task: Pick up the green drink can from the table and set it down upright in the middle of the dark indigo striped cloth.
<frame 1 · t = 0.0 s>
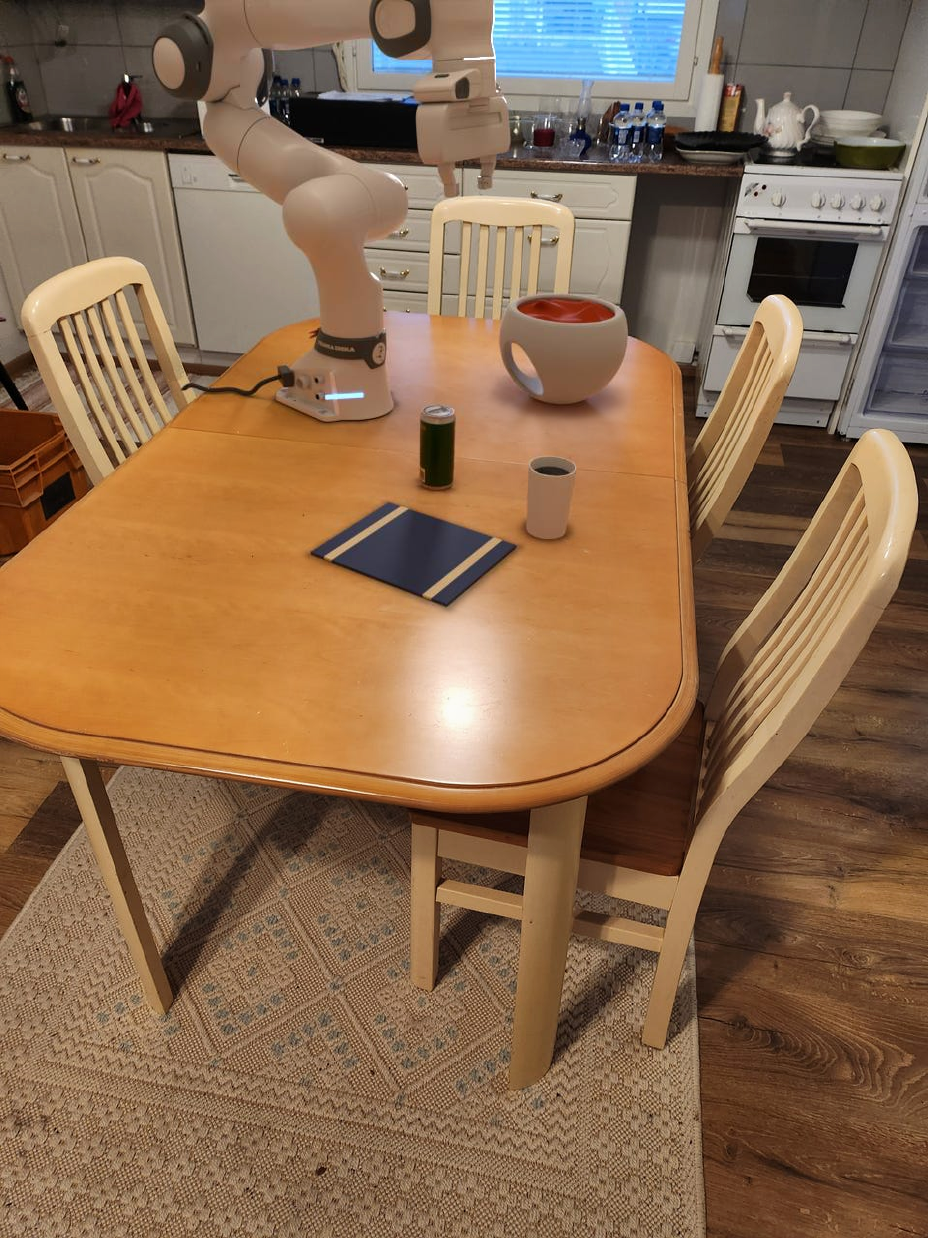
hand: (469, 192, 130), 39 cm above the table, tool pointing down, fingers open, 8 cm apart
cloth: (415, 550, 119), on the table
white coffee cup: (545, 530, 126), on the table
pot: (557, 397, 170), on the table
green drink can: (436, 484, 136), on the table
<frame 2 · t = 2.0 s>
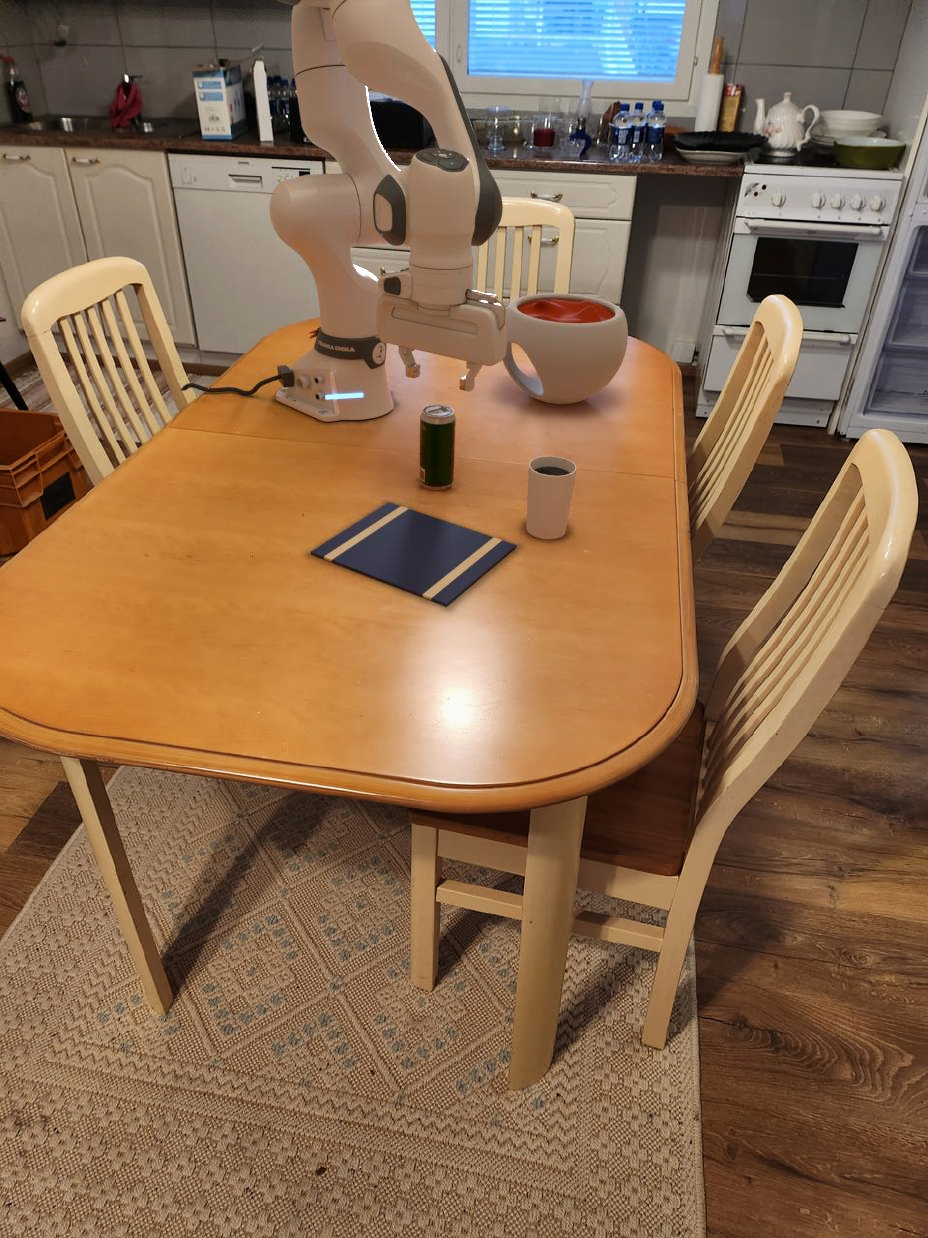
hand: (439, 383, 127), 16 cm above the table, tool pointing down, fingers open, 8 cm apart
nothing on the table moved.
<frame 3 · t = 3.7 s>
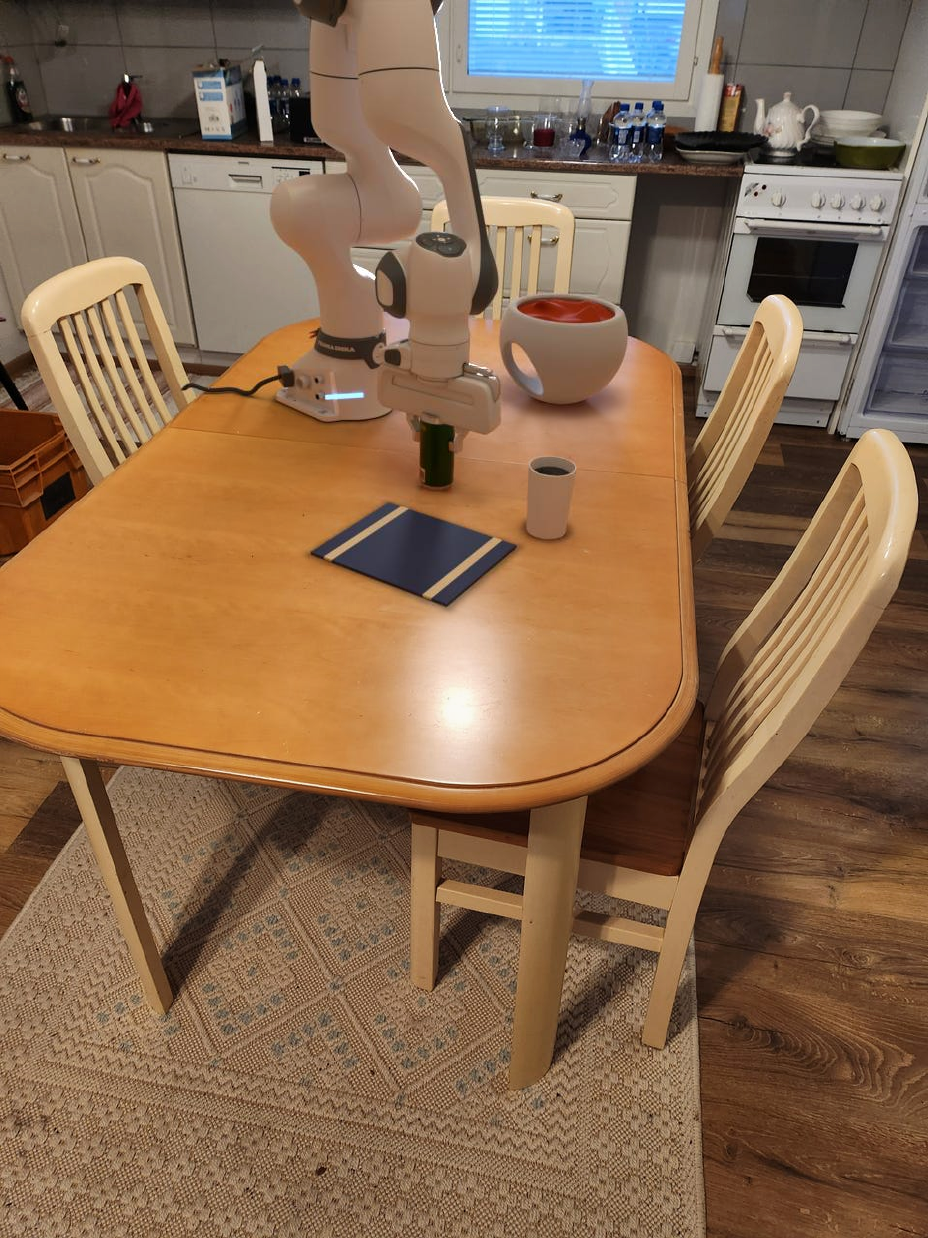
hand: (437, 446, 133), 6 cm above the table, tool pointing down, fingers closed on green drink can, 5 cm apart
green drink can: (436, 484, 136), on the table, touching gripper
everything else where it was.
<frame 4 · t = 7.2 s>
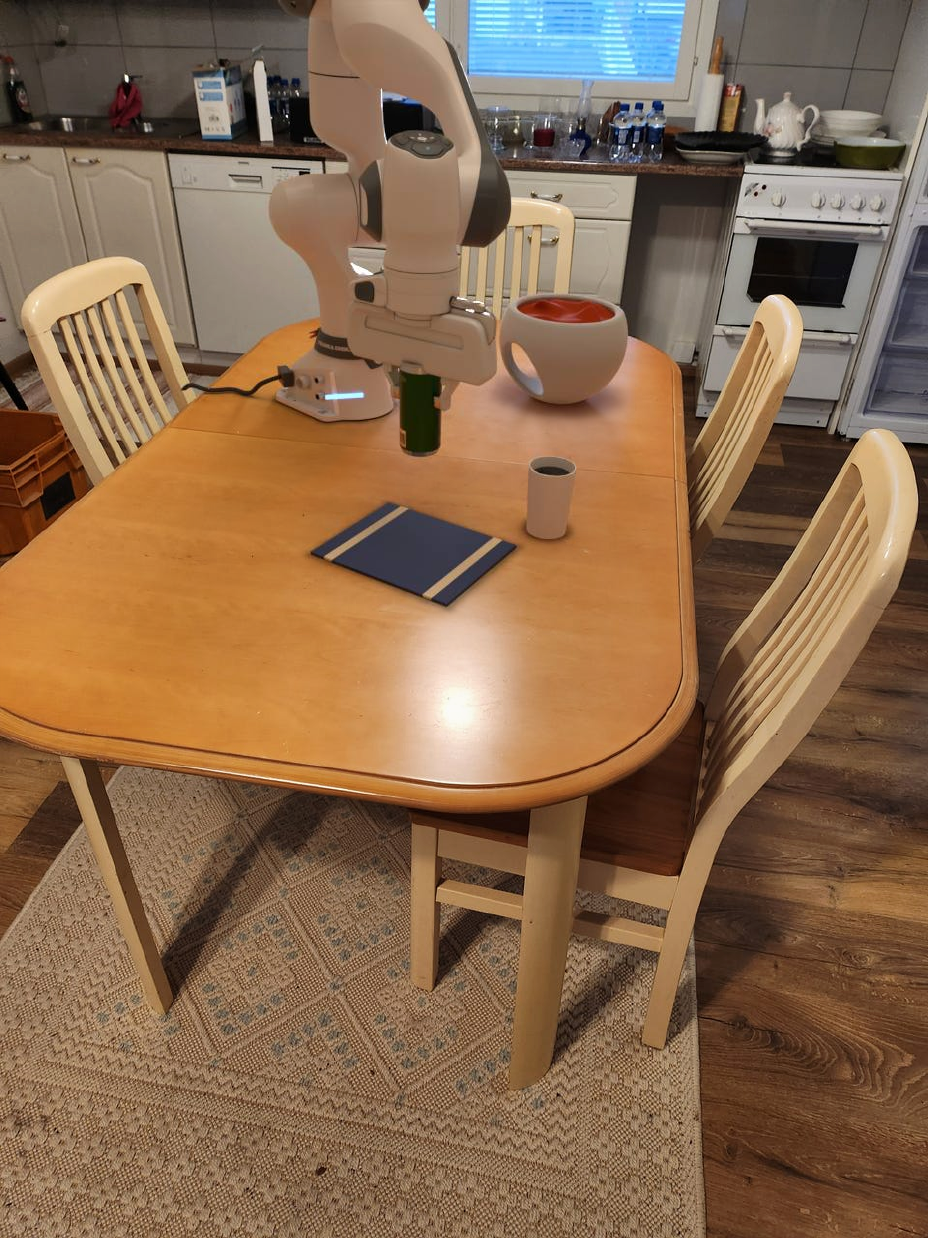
hand: (420, 403, 110), 20 cm above the table, tool pointing down, fingers closed on green drink can, 5 cm apart
green drink can: (420, 450, 114), point 13 cm above the table, touching gripper
everything else where it was.
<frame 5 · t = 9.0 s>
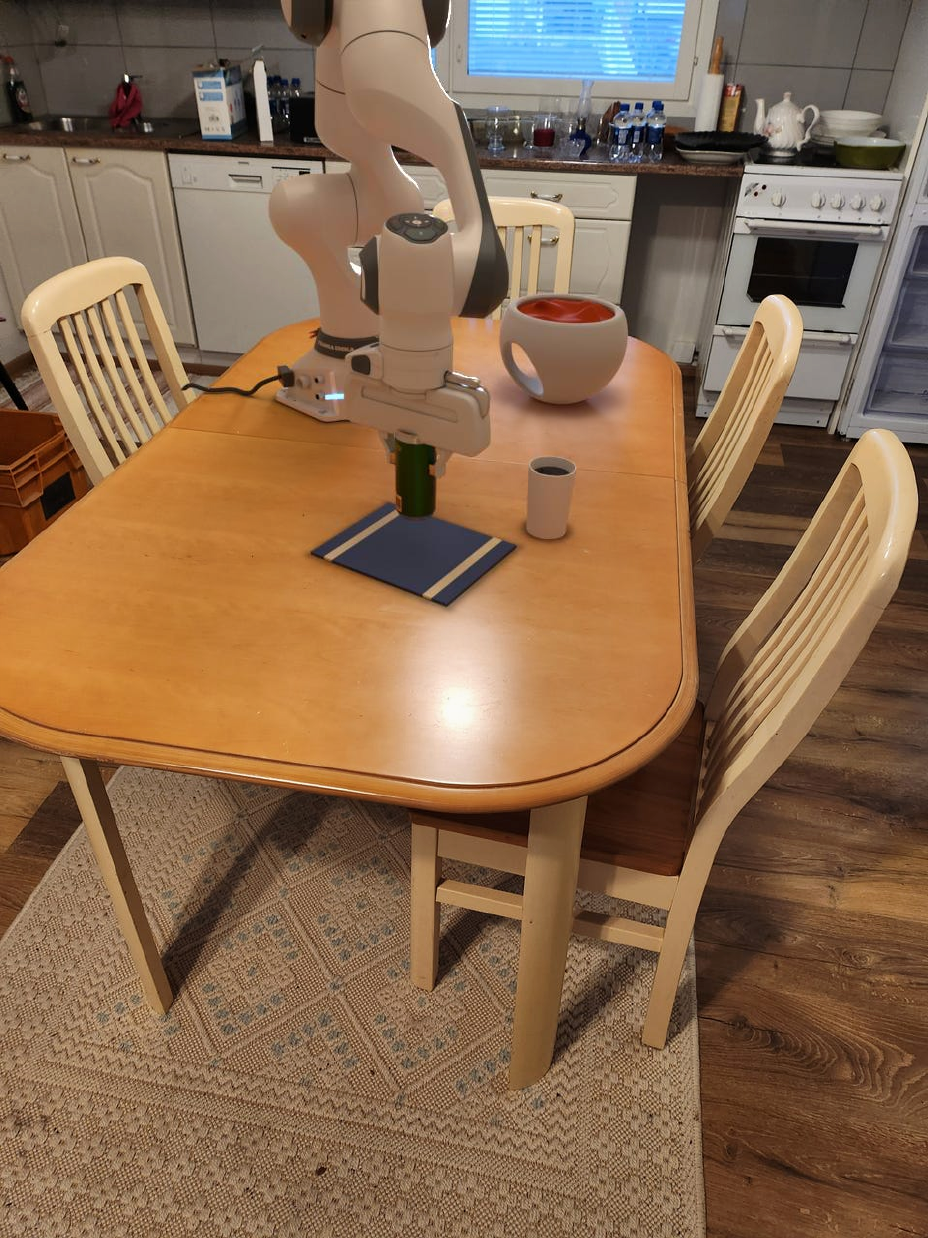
hand: (415, 469, 112), 12 cm above the table, tool pointing down, fingers closed on green drink can, 5 cm apart
green drink can: (415, 513, 116), point 6 cm above the table, touching gripper
everything else where it was.
when the fingers open (7 cm above the table, at t = 10.8 s): green drink can stays where it is, resting on cloth.
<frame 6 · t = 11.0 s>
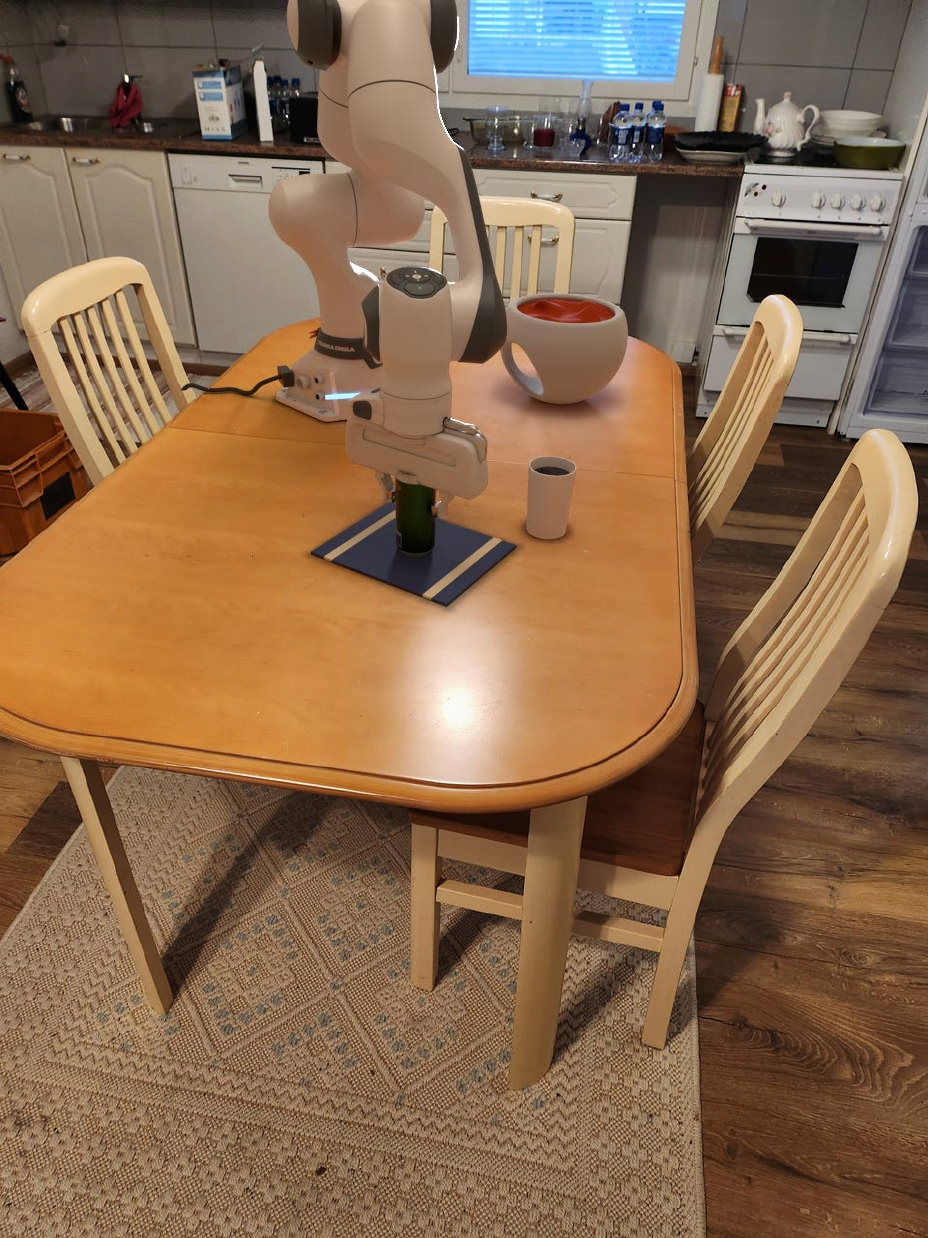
hand: (415, 508, 115), 7 cm above the table, tool pointing down, fingers open, 6 cm apart
green drink can: (415, 549, 119), resting on cloth
everything else where it was.
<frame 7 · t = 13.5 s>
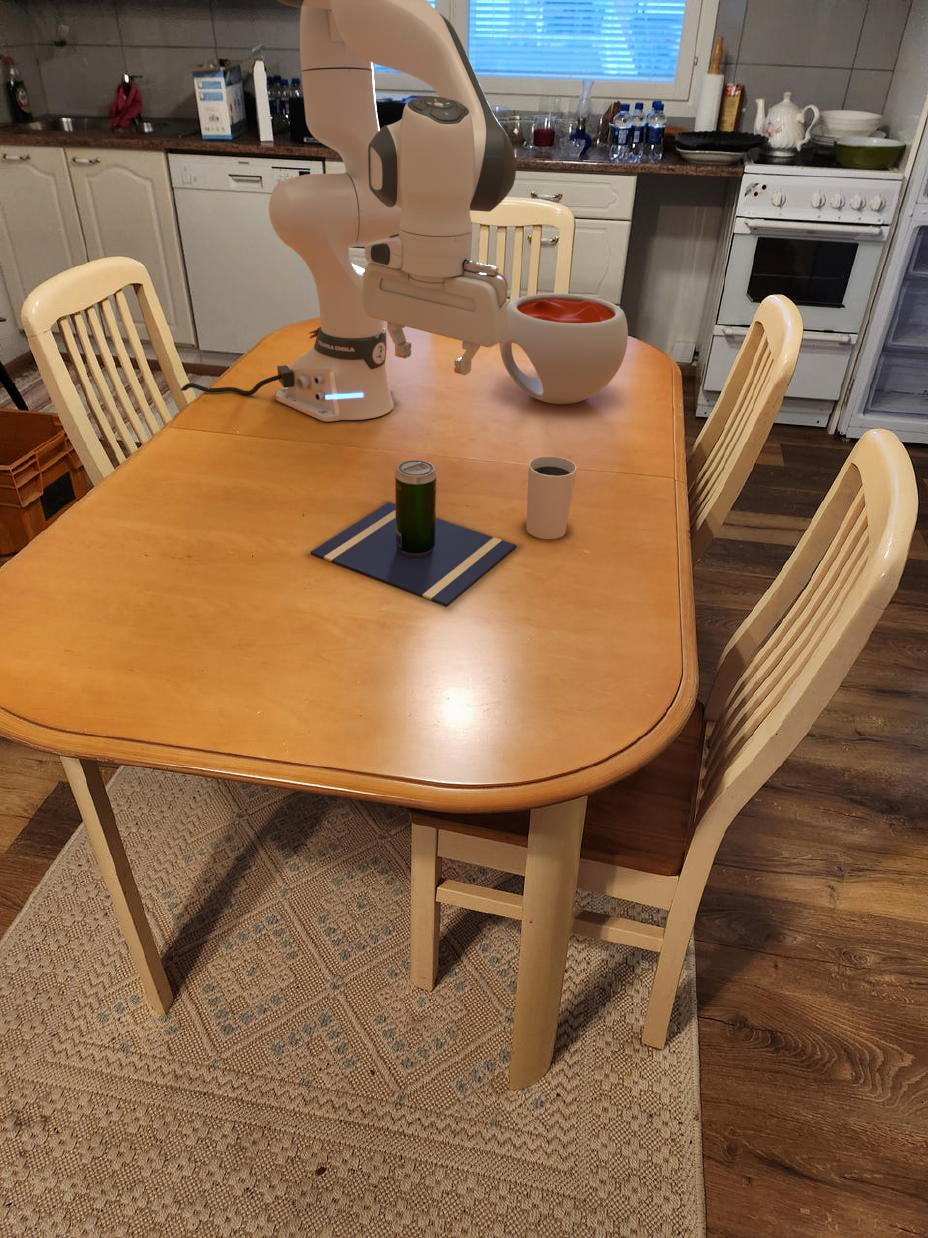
hand: (432, 364, 114), 23 cm above the table, tool pointing down, fingers open, 8 cm apart
nothing on the table moved.
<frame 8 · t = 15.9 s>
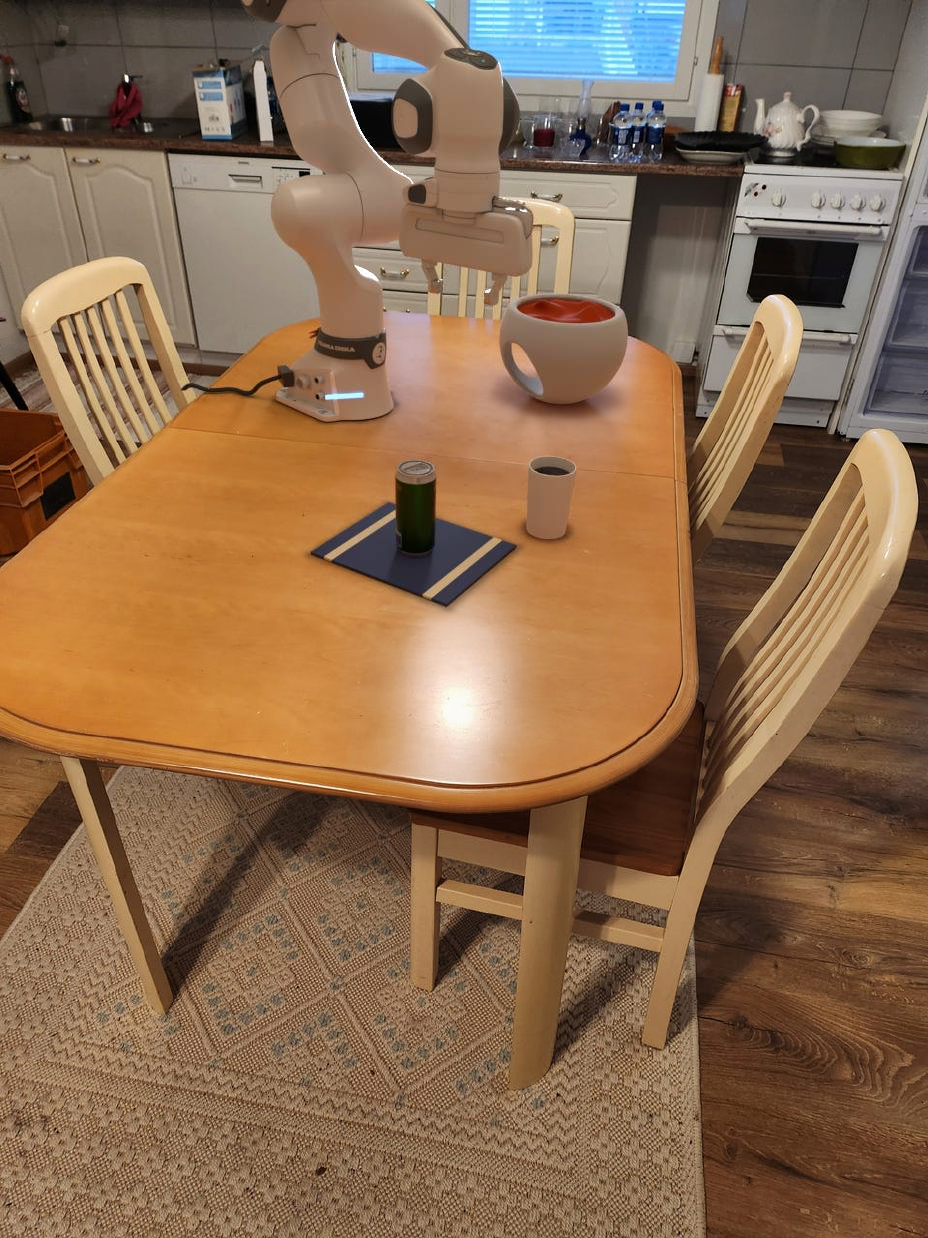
hand: (462, 298, 125), 27 cm above the table, tool pointing down, fingers open, 8 cm apart
nothing on the table moved.
at the end: green drink can inside the target area on the cloth (0.1 cm from its centre), point 0.2 cm above the cloth's base; green drink can tilted 0°; the gripper is holding nothing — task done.
